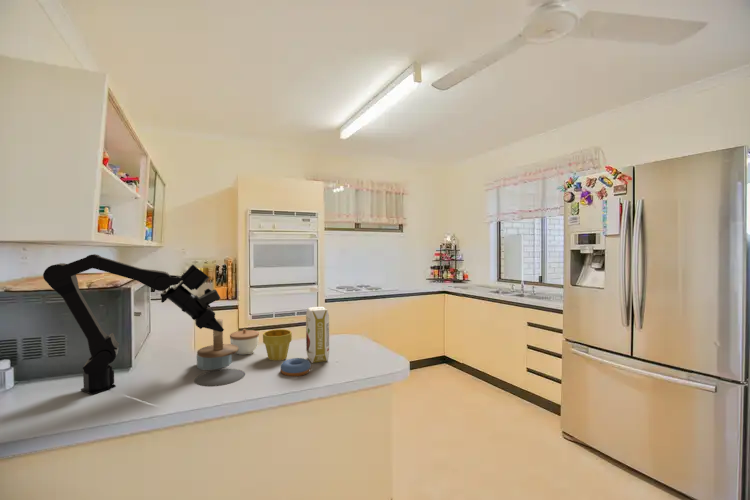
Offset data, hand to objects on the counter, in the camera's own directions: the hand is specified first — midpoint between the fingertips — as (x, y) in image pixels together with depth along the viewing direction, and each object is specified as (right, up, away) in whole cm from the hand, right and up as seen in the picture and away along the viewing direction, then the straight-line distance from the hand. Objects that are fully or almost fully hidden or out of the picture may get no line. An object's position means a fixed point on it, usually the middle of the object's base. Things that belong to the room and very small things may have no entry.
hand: (222, 329), depth 126 cm
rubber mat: (+3, -14, -8) cm, 16 cm away
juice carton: (+31, -13, +10) cm, 35 cm away
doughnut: (+26, -14, -3) cm, 30 cm away
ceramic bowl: (-4, -13, +4) cm, 14 cm away
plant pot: (+16, -13, +11) cm, 24 cm away
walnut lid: (-1, -7, 0) cm, 7 cm away
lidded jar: (+2, -13, +18) cm, 22 cm away
